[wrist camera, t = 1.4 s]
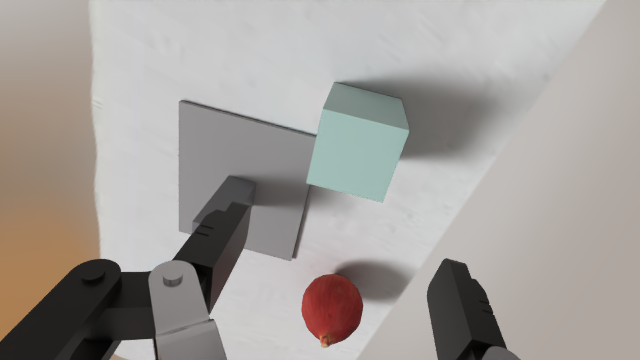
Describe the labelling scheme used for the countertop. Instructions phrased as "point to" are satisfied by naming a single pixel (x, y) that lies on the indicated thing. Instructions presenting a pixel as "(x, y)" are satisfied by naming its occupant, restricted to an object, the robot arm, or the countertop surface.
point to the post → (227, 197)
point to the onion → (332, 308)
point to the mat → (245, 172)
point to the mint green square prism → (358, 142)
